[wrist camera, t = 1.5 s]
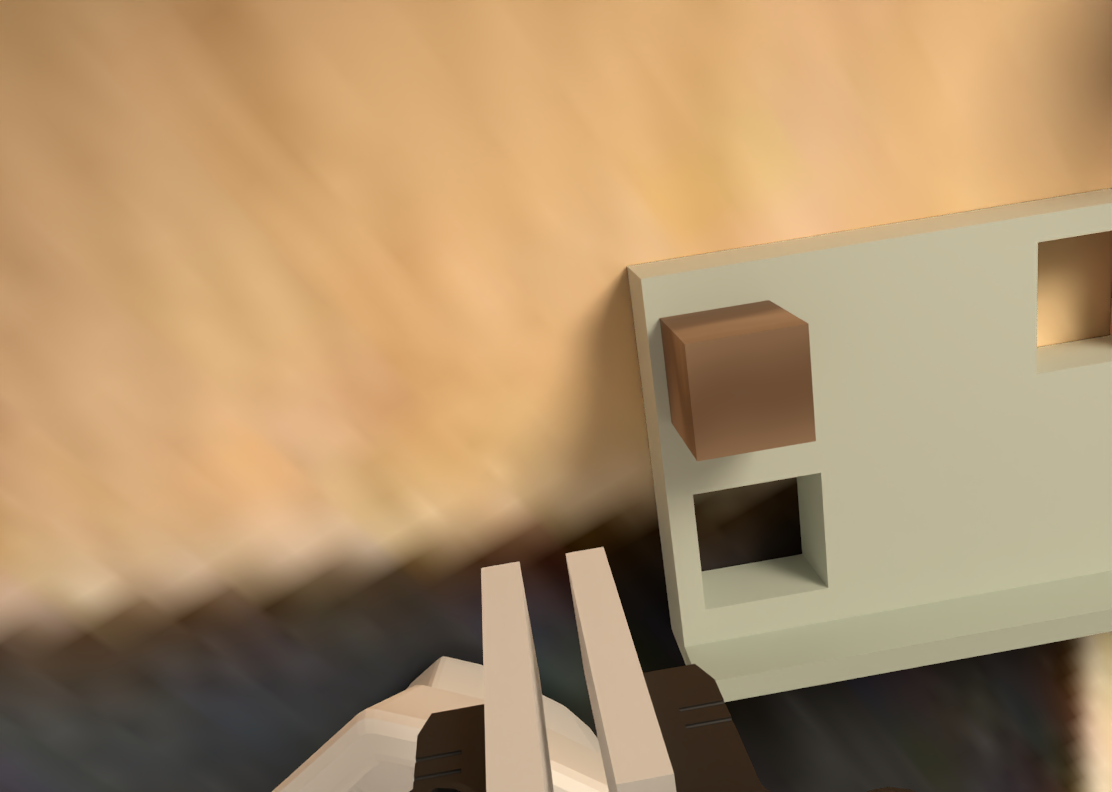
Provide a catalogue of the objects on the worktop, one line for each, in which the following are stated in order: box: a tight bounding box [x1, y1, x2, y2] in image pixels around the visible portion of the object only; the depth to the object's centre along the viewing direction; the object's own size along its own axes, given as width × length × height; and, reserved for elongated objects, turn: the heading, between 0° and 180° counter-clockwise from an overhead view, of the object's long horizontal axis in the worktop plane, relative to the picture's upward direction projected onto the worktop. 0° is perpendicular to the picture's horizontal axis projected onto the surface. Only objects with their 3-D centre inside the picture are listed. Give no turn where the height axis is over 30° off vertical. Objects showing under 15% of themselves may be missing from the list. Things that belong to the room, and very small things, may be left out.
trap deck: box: [627, 188, 1112, 702], centre depth 35 cm, size 16×27×6 cm, turn 98°
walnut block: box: [660, 300, 816, 461], centre depth 31 cm, size 4×4×4 cm
